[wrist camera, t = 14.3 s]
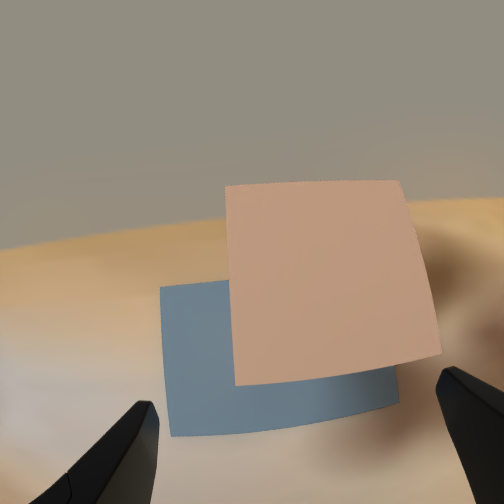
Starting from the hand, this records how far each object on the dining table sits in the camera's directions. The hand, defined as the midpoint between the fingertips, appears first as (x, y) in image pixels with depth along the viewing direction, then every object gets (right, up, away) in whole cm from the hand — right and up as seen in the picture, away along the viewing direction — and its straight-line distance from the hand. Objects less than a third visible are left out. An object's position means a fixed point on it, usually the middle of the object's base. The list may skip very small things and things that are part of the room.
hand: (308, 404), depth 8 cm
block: (0, -1, +9) cm, 9 cm away
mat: (0, -1, +9) cm, 9 cm away
